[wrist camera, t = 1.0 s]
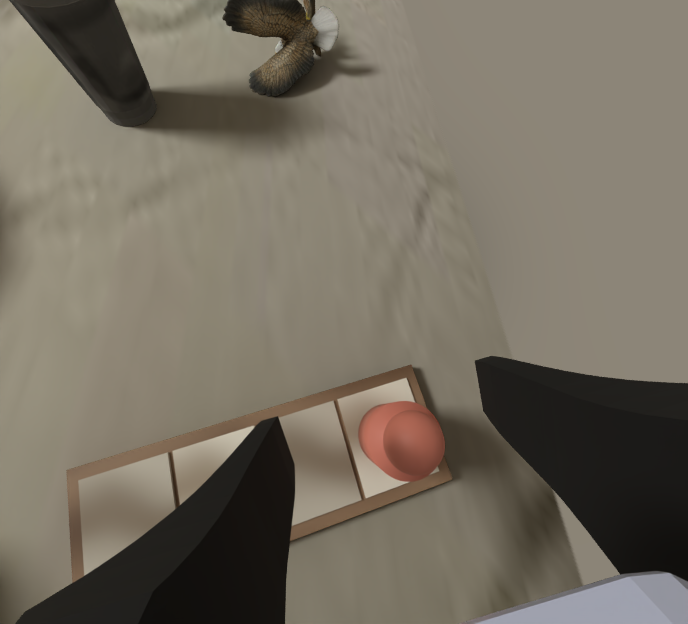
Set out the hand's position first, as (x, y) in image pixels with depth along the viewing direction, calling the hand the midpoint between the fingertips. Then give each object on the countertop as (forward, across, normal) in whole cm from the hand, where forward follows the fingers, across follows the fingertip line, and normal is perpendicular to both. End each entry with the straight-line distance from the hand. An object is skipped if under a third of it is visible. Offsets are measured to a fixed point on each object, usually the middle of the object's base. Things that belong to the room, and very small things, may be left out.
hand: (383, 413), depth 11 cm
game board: (+9, +8, +8) cm, 14 cm away
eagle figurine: (+28, -1, -24) cm, 37 cm away
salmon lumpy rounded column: (+9, 0, +7) cm, 12 cm away
